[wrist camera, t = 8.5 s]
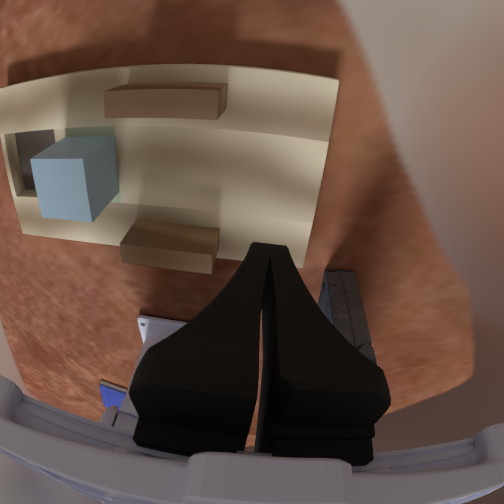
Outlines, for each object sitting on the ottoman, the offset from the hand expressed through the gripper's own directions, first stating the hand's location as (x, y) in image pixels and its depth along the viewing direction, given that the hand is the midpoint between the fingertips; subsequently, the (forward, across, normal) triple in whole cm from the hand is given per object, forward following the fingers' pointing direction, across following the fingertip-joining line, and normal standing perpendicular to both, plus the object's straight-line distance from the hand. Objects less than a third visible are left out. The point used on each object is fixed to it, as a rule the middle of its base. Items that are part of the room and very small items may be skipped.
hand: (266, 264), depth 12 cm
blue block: (+8, +12, 0) cm, 15 cm away
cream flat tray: (+10, +9, 0) cm, 13 cm away
